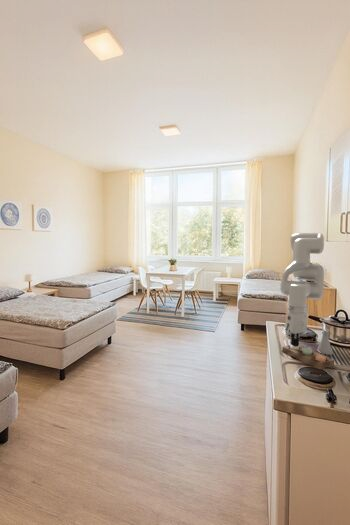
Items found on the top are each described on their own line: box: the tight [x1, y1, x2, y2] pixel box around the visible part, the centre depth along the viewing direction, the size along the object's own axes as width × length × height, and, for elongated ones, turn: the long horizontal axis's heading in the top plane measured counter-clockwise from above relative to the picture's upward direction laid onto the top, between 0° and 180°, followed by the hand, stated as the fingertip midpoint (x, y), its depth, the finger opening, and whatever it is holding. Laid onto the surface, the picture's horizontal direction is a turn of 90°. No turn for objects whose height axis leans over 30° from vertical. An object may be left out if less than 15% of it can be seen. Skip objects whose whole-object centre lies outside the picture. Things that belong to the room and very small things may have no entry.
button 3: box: [315, 355, 326, 362], centre depth 118 cm, size 4×4×3 cm
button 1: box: [289, 343, 299, 350], centre depth 131 cm, size 4×4×3 cm
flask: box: [317, 331, 333, 356], centre depth 131 cm, size 7×7×10 cm
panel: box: [281, 344, 335, 370], centre depth 125 cm, size 20×10×3 cm, turn 25°
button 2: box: [302, 346, 313, 356], centre depth 125 cm, size 4×4×3 cm
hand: (294, 345), depth 131 cm, fingers closed
